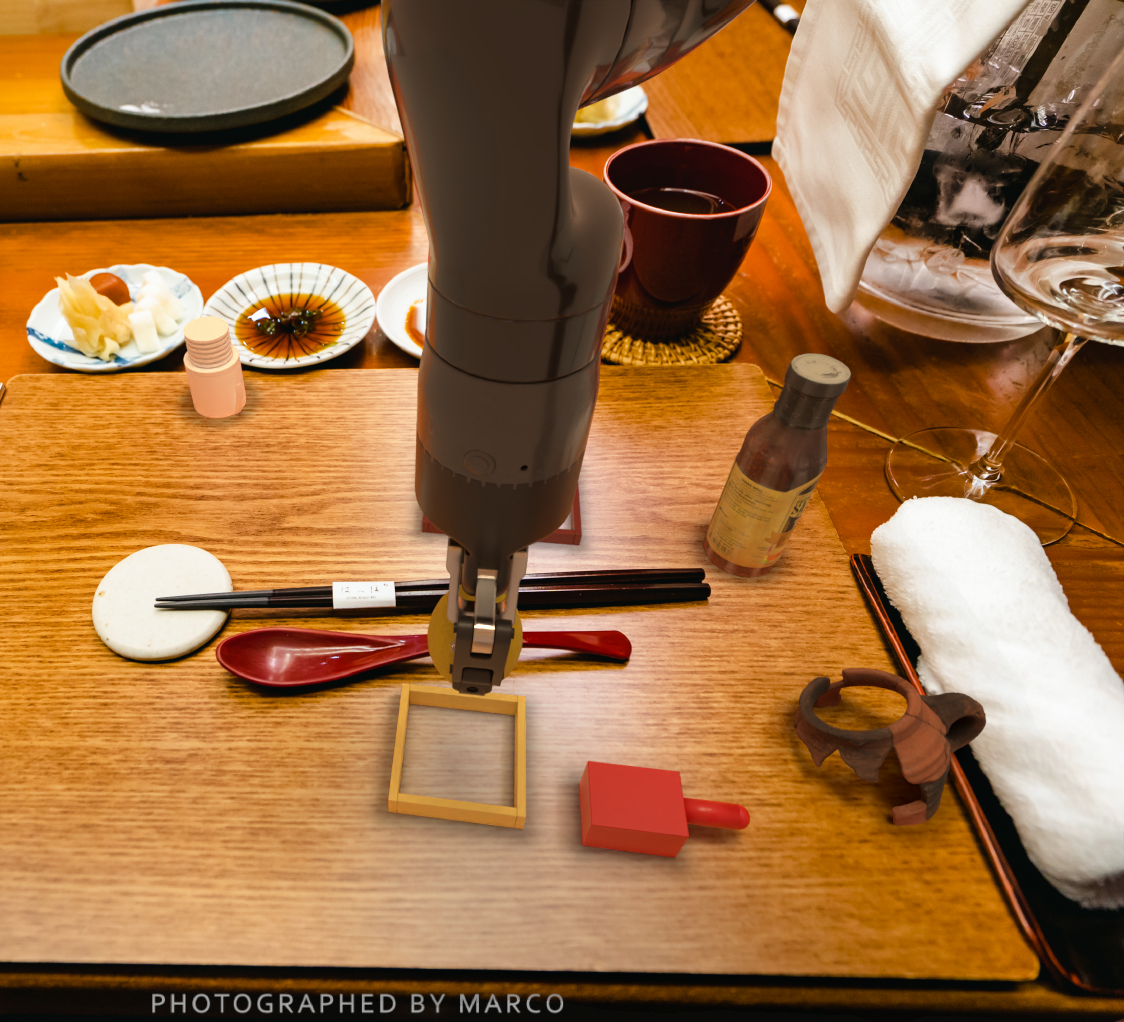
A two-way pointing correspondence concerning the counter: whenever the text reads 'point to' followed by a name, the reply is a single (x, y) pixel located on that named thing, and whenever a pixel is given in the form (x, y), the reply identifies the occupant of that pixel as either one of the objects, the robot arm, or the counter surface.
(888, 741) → the broken clay pot
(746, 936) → the counter surface
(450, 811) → the yellow square frame
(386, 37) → the robot arm
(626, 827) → the red peg block
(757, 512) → the sauce bottle
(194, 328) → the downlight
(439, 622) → the lemon
